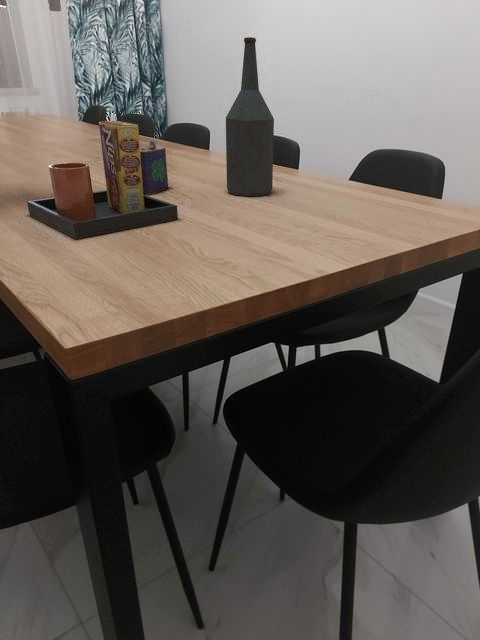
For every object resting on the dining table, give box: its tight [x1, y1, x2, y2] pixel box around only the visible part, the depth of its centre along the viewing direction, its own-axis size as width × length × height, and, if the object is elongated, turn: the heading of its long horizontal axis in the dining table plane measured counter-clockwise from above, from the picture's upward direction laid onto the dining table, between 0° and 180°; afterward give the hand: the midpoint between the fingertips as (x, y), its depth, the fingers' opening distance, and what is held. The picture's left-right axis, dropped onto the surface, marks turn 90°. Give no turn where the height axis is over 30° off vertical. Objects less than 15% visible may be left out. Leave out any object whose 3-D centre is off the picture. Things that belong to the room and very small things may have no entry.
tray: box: [26, 189, 179, 240], centre depth 92 cm, size 20×20×3 cm
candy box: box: [98, 120, 145, 214], centre depth 92 cm, size 9×4×15 cm, turn 35°
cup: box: [48, 162, 96, 222], centre depth 87 cm, size 6×6×9 cm
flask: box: [140, 139, 169, 196], centre depth 111 cm, size 9×3×11 cm, turn 157°
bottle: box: [225, 36, 275, 197], centre depth 107 cm, size 10×10×30 cm
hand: (29, 8), depth 88 cm, fingers open, 8 cm apart
